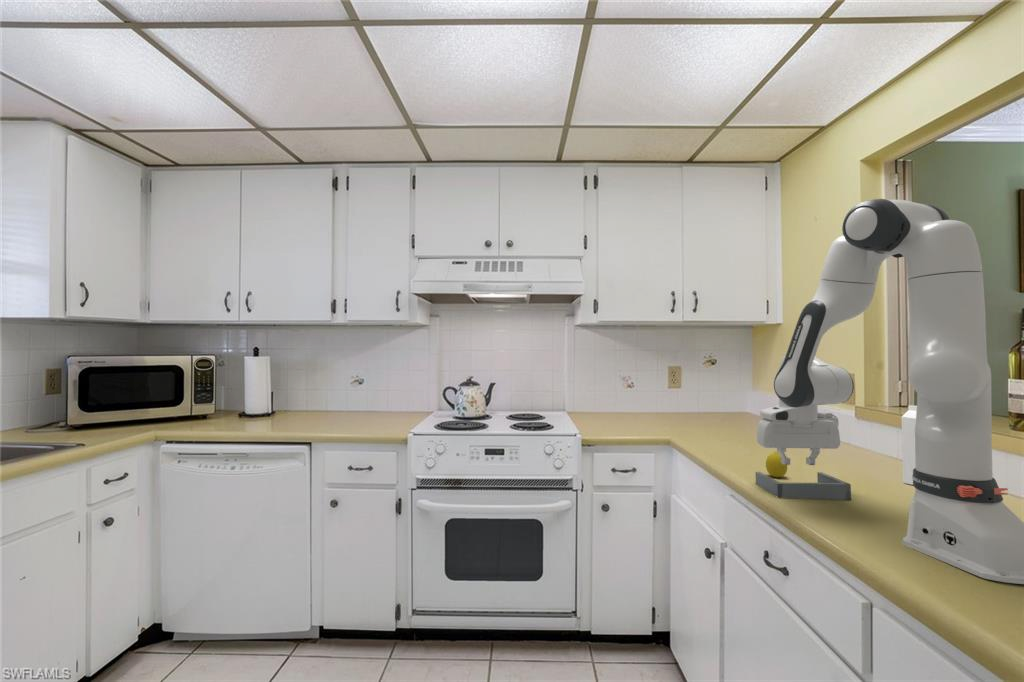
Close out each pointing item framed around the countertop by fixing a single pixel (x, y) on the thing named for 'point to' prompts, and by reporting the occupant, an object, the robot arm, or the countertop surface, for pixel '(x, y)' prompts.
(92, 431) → the countertop surface
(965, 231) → the robot arm
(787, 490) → the box
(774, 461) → the lemon
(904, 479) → the milk
